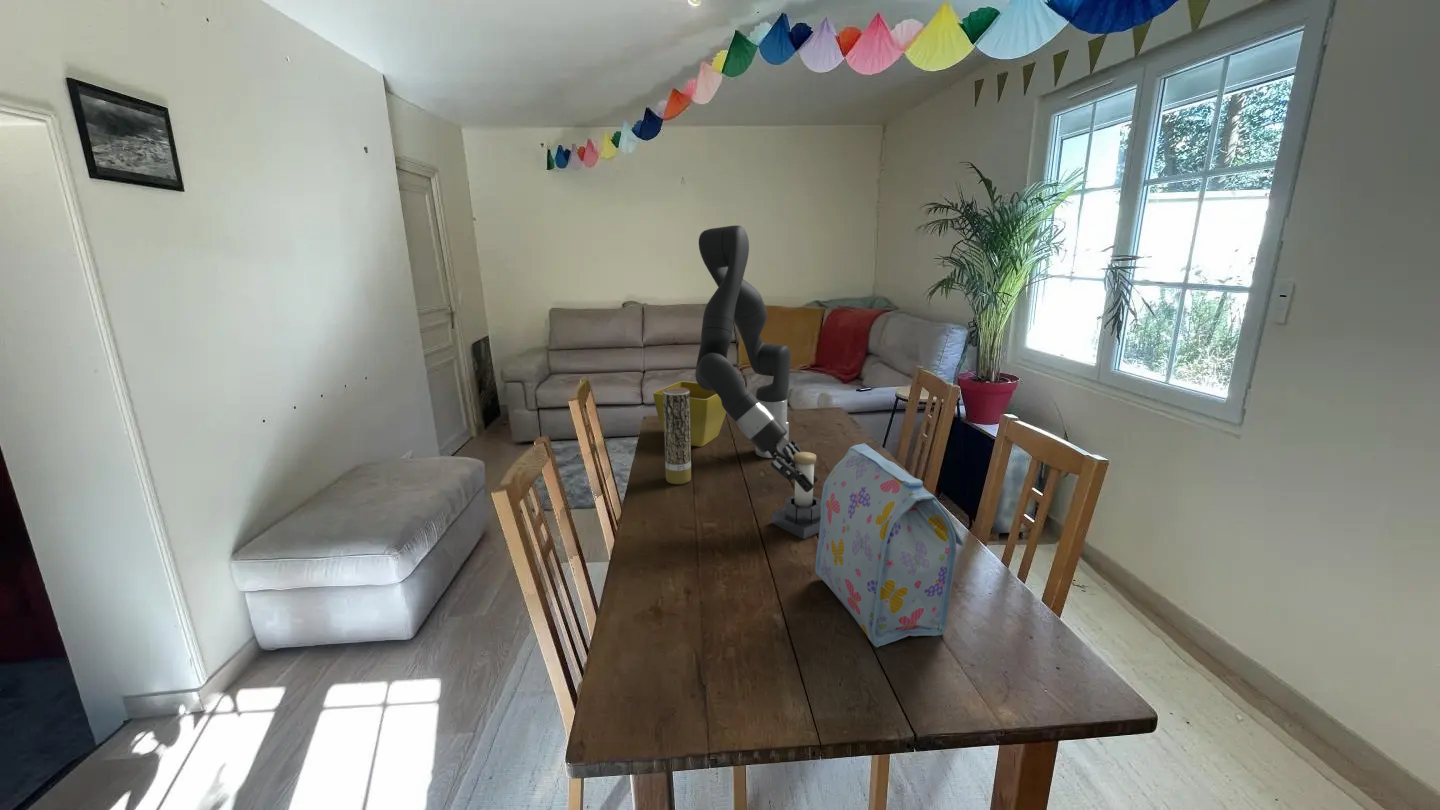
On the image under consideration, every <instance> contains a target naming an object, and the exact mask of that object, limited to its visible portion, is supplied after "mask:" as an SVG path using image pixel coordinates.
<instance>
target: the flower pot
mask: <svg viewBox="0 0 1440 810" xmlns="http://www.w3.org/2000/svg"><path fill="white" fill-rule="evenodd" d="M672 387H683V388H688V389H689V392H690V443H691V447H692V446H693V447H703V446H705V445H706V444H708V443H710V442H711V441H713V440H714V439H716V438H717V437H718V436H719V434H720V431H721V428H722V427H723V422H724V420H725V417H726V413H727V412H726V410H725V409H724V408H723V406H722V402H721V399H720V397H719V396H718V394H717V393H716V392H715V391H707V390H704V389H702V388H701V387H700V386H699V385H698V383H697V382H693V381H685V380H684V381H683V380H682V381H677V382H676V383H672V384H670V385H667V386H666V387H663V388H661V389H658V390H656V391H653V400H654V405H655V409H656V413H657V416H658V420H659V421H658V422H659V423H660V426H661V429H662V431H663V433H664V404H663V390H664V389H666V388H672Z"/></svg>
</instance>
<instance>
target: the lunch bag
mask: <svg viewBox="0 0 1440 810" xmlns="http://www.w3.org/2000/svg"><path fill="white" fill-rule="evenodd" d="M923 484H924V482H923V480H921V479H919V478H917V477H916V478H915V476H913V475H911V474H909V473H908V472H907V471H905V470H904V469H903V468H901V467H900V466H898V465H897V464H896V463H895V462H893V461H890V460H888V459H886V458H885V457H883V456H882V454H880V453H878V452H877V451H876V450H874V449H873V448H871V447H870V445H867V443H864V442H863V443H861V444H855V445H852V446H850V447H849V449H848V450H847V452H846V453H845V455H844V457H843V458H842V459H841V460H840V461H839V462H838V463H836V465H835V466H834V467H833V468H832V470H831V471H830V473H829V474H828V476H827V478H826V479H825V481H824V483H823V487H822V494H821V520H820V531H819V533H818V542H817V546H816V547H817V548H816V553H815V554H816V556H815V568H814V570H815V573H816V575H817V576H818V577H819V578H820V579H821V580H822V581H823V582H824V583H825V584H826V586H827V587H829V589H830V590H831V591H832V592H833V594H834V595H835V597H836V598H837V599H838V600H839V601H840V602H841V604H842V605H843V606H844V607H845V608H846V610H847V611H848V612H849V613H850V615H851V616H852V617H853V619H854V620H855V621H856V622H857V624H858V625H859V627H860V629H862V631H863V632H864V634H865V636H866V637H867V638H868V640H869V641H870V642H871V644H872V645H873V646H874V647H875V648H879V647H881V646H885V645H888V644H890V643H894V642H896V641H899V640H901V639H902V640H903V639H904V638H907V637H909V636H911V637H918V636H919V637H920V636H924V637H925V636H926V637H927V636H928V637H930V636H932V637H937V636H942V635H944V634H945V632H946V629H947V623H948V617H949V609H950V603H951V602H950V601H951V594H952V586H953V581H954V575H955V569H956V568H955V567H956V559H957V552H958V551H957V550H958V549H957V545H959V546H961V547H964V546H965V543H964V541H963V539H962V538H961V536H960V534H959V532H958V531H957V529H956V527H955V525H954V523H953V520H952V519H951V517H950V514H949V513H948V512H947V510H946V508H944V506H942V504H941V503H940V501H939V500H938V498H937V497H936V496H935V495H933V494H932V493H931V492H930V491H927V490H926V488H925V489H924V487H923Z"/></svg>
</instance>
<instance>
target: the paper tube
mask: <svg viewBox="0 0 1440 810" xmlns="http://www.w3.org/2000/svg"><path fill="white" fill-rule="evenodd" d="M663 404H664V432H663V433H664V460H665V461H664V463H665V464H664V465H665V466H664V467H665V480H666V482H667V483H669V484H671V485H685V484H688V483H689V482H690V481H691V480H692V461H691V460H692V457H691V456H692V454H691V453H692V451H691V447H692V445H691V443H690V392H689V389H688V388H683V387H672V388H666V389H664V390H663Z"/></svg>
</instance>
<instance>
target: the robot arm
mask: <svg viewBox="0 0 1440 810" xmlns="http://www.w3.org/2000/svg"><path fill="white" fill-rule="evenodd" d="M698 237H699V238H698V249H699V253H700V257H701V259H702V261H703V264H704V265H705V267H706V269H707V270H708V272H709V274H710V275H711V277H712V279H713V281H714V283H715V284H716V286H717V289H716V290H715V291H714V293H713V295H712V296H711V297H710V299H709V301H708V302H707V305H706V306H705V308H704V311H703V317H702V325H701V333H700V334H701V335H700V346H699V352H698V355H697V360H696V367H695V374H694V375H695V380H696V383H698V385H699V386H700V387H701V388H702V389H704V390H707V391H715V392H716V393H717V394H718V396H719V397H720V399H721V402H722V406H723V408H724V409H725V410H726V413H727V414H728V415H729V416H730V417H731V418H732V419H733V421H734V422H735V424H736V425H737V426H738V427H739V429H740V431H741V432H742V433H743V434H744V435H745V437H746V438H748V439H749V441H750V442H751V443H752V444H753V445H754V447H755V454H756V455H757V456H759V457H761V458H767V459H773V461H772V462H770V466H771V467H772V468H773V469H774V470H775V471H776V472H778V473H779V474H780V475H781V476H782V477H784V478H785V479H786V480H787V481H789V482H791V481H795V480H796V482H797V483H798V484H799V485H800V486H801V487H802V488H803V489H804V491H805V492H809V491H810V490H811V489H813V490H814V484H815V483H817V482H818V480H819V477H818V476H817V475H816V473H814V479H813V484H812V483H811V481H810V480H809V479H808V478H807V477H806V476H805V475H804V474H803V473H802V471H801V470H800V468H799V467H798V465H797V464H798V463H797V462H796V460H795V458H794V454H795V453H798V452H804V451H803V450H802V448H801V447H800V445H799V444H798V443H797V441H796V440H795V439H793V440H791V441H789V440H790V434H789V433H790V423H789V422H788V419H787V418H788V393H789V387H790V386H789V385H790V373H791V372H790V370H791V361H792V359H791V358H792V357H791V356H792V355H791V351H790V349H789V348H790V347H788V346H787V345H785V344H784V345H783V344H772V343H765V342H764V341H763V339H762V338H761V334H762V332H763V330H764V328H765V326H766V323H767V319H768V310H767V307H766V305H765V302H764V300H763V297H762V295H761V294H760V292H759V291H758V289H757V288H755V286H753V285H752V284H751V283H749V282H748V281H746V279H744V276H745V272H746V268H747V264H748V259H749V254H750V253H749V252H750V241H749V237H748V233H747V232H746V229H745V228H744V227H743V226H742V225H736V224H735V225H728V226H722V227H720V226H719V227H714V228H713V227H712V228H708V229H705V230H703V231H702V232H701V233H700V234H699V236H698ZM734 324H735V326H736V327H737V330H738V332H739V334H740V335H739V336H740V337H741V340H742V343H743V345H744V348H745V351H746V354H747V358H748V362H749V364H750V366H751V369H752V370H753V372H754V373H756V374H757V375H760V376H767V377H773V379H772V383H770V384H767V385H766V384H765V385H762V386H760V387H758V388H757V389H756V393H755V395H754V394H753V393H752V391H750V389H748V387H747V386H746V385H745V383H744V381H743V380H742V378H741V376H740V374H739V373H738V371H737V370H736V369H735V367H734V366H733V364H732V362H730V360H728V351H729V348H730V346H731V343H732V337H733V331H734V330H733V328H734Z"/></svg>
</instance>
